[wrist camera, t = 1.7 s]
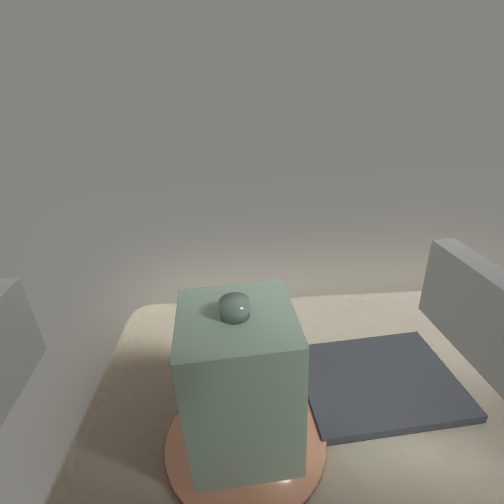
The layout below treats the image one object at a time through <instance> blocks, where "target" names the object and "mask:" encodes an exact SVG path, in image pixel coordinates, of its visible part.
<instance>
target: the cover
mask: <svg viewBox="0 0 504 504" xmlns="http://www.w3.org/2000/svg"><path fill="white" fill-rule="evenodd" d="M170 370H171V375H172V380H173V385H174V390H175V395H176V400H177V405H178V410H179V416H180V421H181V426H182V431H183V436H184V441H185V446H186V451H187V456H188V461H189V466H190V471H191V476H192V481H193V486H194V491H195V494H197V493H204V492H211V491H217V490H224V489H230V488H237V487H243V486H250V485H256V484H263V483H269V482H276V481H282V480H289V479H295V478H302V477H306V452H307V418H308V384H309V346H308V343H307V341H306V338H305V336H304V333H303V331H302V328H301V325H300V323H299V320H298V318H297V315H296V313H295V310H294V307H293V305H292V302H291V300H290V297H289V295H288V292H287V290H286V287H285V284H284V282H283V280H282V279H280V280H271V281H260V282H251V283H243V284H242V283H241V284H232V285H222V286H213V287H203V288H193V289H184V290H179V291H178V300H177V308H176V316H175V325H174V333H173V341H172V350H171V358H170Z"/></svg>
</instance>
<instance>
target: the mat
mask: <svg viewBox="0 0 504 504" xmlns="http://www.w3.org/2000/svg"><path fill="white" fill-rule="evenodd" d="M308 346H309V384H308V400H309V402H310V405H311V408H312V411H313V414H314V417H315V420H316V424H317V427H318V430H319V433H320V436H321V439H322V442H324V441H326V443H327V446H330V445H337V444H344V443H351V442H358V441H365V440H371V439H378V438H385V437H392V436H399V435H406V434H412V433H419V432H426V431H433V430H440V429H446V428H453V427H460V426H467V425H474V424H481V423H486V420H487V417H488V416H487V414H486V413H485V412H484V411H483V410H482V408H481V407H480V406H479V405H478V404H477V402H476V401H475V400H474V399H473V398H472V396H471V395H470V394H469V393H468V392H467V391H466V389H465V388H464V387H463V386H462V385H461V383H460V382H459V381H458V380H457V379H456V377H455V376H454V375H453V374H452V373H451V371H450V370H449V369H448V368H447V367H446V366H445V364H444V363H443V362H442V361H441V360H440V358H439V357H438V356H437V355H436V354H435V352H434V351H433V350H432V349H431V348H430V346H429V345H428V344H427V343H426V342H425V341H424V339H423V338H422V337H421V336H420V335H419V333H418V332H411V333H402V334H394V335H386V336H378V337H369V338H361V339H353V340H345V341H336V342H328V343H320V344H312V345H308Z"/></svg>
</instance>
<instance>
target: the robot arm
mask: <svg viewBox="0 0 504 504" xmlns="http://www.w3.org/2000/svg"><path fill="white" fill-rule="evenodd" d="M419 309H420V310H421V311H422V312H423V314H424V315H425V316H426V317H427V318H428V319H429V320H430V321H431V322H432V323H433V324H434V325H435V326H436V327H437V328H438V330H439V331H440V332H441V333H442V334H443V335H444V336H445V337H446V338H447V339H448V340H449V341H450V342H451V343H452V345H453V346H454V347H455V348H456V349H457V350H458V351H459V352H460V353H461V354H462V355H463V356H464V357H465V358H466V360H467V361H468V362H469V363H470V364H471V365H472V366H473V367H474V368H475V369H476V370H477V371H478V372H479V373H480V375H481V376H482V377H483V378H484V379H485V380H486V381H487V382H488V383H489V384H490V385H491V386H492V387H493V388H494V390H495V391H496V392H497V393H498V394H499V395H500V396H501V397H502V398H503V399H504V270H503V269H502V268H500V267H499V266H497V265H495V264H494V263H492V262H491V261H489V260H487V259H486V258H484V257H483V256H481V255H480V254H478V253H477V252H475V251H473V250H472V249H470V248H469V247H467V246H466V245H464V244H462V243H461V242H459V241H458V240H456V239H455V238H447V239H436V240H432V243H431V248H430V253H429V258H428V263H427V268H426V274H425V278H424V284H423V289H422V294H421V299H420V304H419ZM45 350H46V347H45V344H44V341H43V339H42V336H41V333H40V331H39V328H38V326H37V323H36V320H35V317H34V315H33V312H32V310H31V308H30V304H29V301H28V299H27V296H26V293H25V291H24V288H23V286H22V283H21V280H20V278H19V277H18V278H7V279H0V427H1V425H2V423H3V421H4V420H5V418H6V416H7V415H8V413H9V411H10V410H11V408H12V406H13V405H14V403H15V401H16V399H17V398H18V396H19V394H20V392H21V391H22V389H23V387H24V386H25V384H26V382H27V381H28V379H29V377H30V375H31V374H32V372H33V370H34V368H35V367H36V365H37V364H38V362H39V360H40V358H41V357H42V355H43V353H44V352H45Z"/></svg>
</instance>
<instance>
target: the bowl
mask: <svg viewBox="0 0 504 504" xmlns="http://www.w3.org/2000/svg"><path fill="white" fill-rule="evenodd" d="M326 446H327V443H326V441H324V442H322V439H321V436H320V433H319V430H318V427H317V424H316V420H315V417H314V414H313V411H312V408H311V405H310V402H309V400H308V418H307V452H306V477H302V478H295V479H289V480H282V481H276V482H269V483H263V484H256V485H250V486H243V487H237V488H230V489H224V490H217V491H211V492H204V493H197V494H195V491H194V486H193V481H192V476H191V471H190V466H189V461H188V456H187V451H186V446H185V441H184V436H183V431H182V426H181V421H180V416H179V411H178V413H177V415H176V416H175V418H174V419H173V422H172V424H171V426H170V428H169V431H168V434H167V437H166V443H165V455H164V457H165V466H166V471H167V474H168V478H169V482H170V484H171V486H172V489H173V491H174V493H175V494H176V496H177V497H178V499H179V500H180V502H181V503H182V504H305V503H306V501H307V500H308V499H309V498H310V497H311V495H312V494H313V492H314V491H315V489H316V488H317V486H318V484H319V482H320V480H321V477H322V474H323V471H324V467H325V461H326Z"/></svg>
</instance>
